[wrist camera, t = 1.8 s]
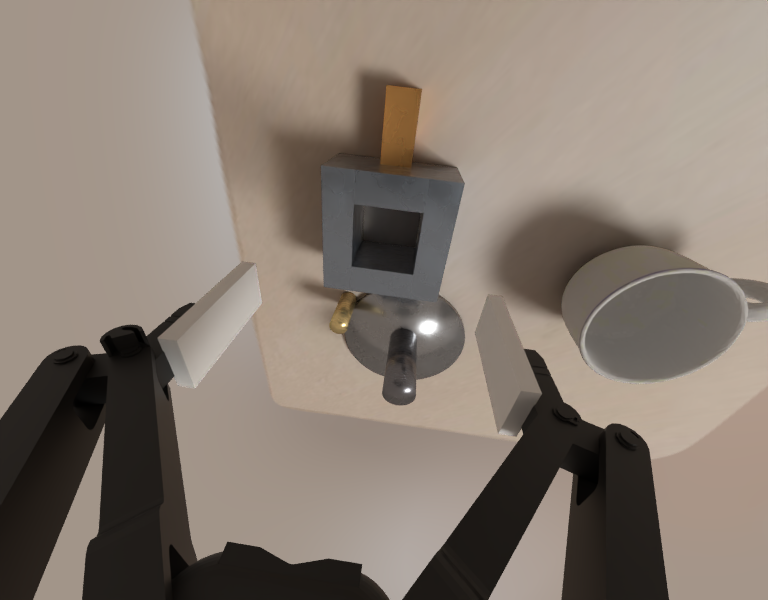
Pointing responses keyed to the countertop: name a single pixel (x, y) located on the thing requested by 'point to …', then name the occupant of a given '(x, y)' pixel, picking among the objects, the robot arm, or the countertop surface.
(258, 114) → the countertop surface
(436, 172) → the grey hollow block
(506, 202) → the countertop surface
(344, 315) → the dowel pin
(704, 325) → the teacup
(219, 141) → the countertop surface
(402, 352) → the rod on disc base
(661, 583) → the robot arm
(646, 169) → the countertop surface
